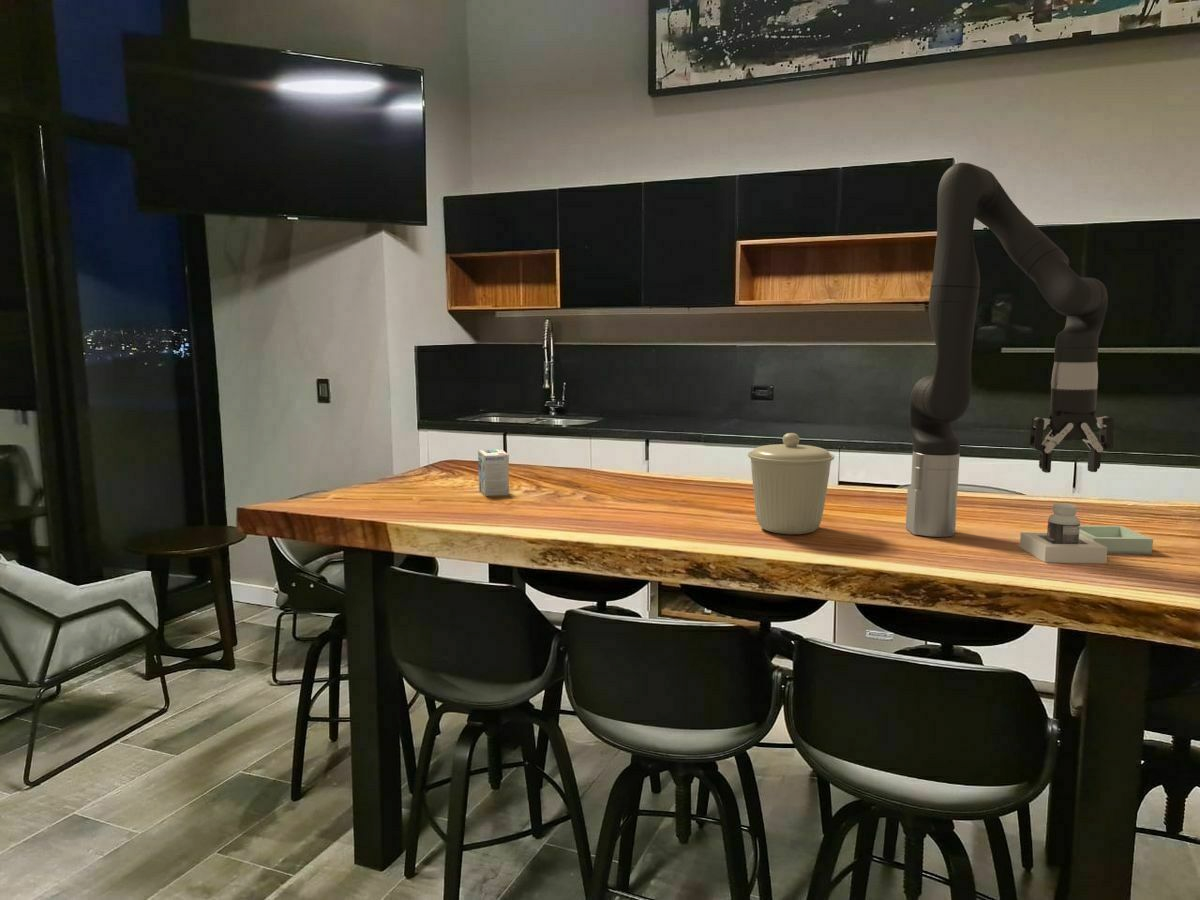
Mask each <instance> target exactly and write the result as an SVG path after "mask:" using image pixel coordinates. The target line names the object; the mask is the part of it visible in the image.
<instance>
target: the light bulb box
mask: <svg viewBox="0 0 1200 900" xmlns="http://www.w3.org/2000/svg"><path fill="white" fill-rule="evenodd" d="M477 454H478V455H477V457H478V459H477V460H478V461H477V462H478V489H479V491H480V492H481V493H482V494H483V495H484V496H485V497H487V496H488V497H489V496H491V497H492V496H506V495H507V496H509V495H510V467H509V466H510V464H509V463H510V459H509V458H510V455H509V453H507V452H506V451H505V450H503V449H501V448H499V449H482V450H481V449H479V450H478V451H477Z"/></svg>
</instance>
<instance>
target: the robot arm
mask: <svg viewBox="0 0 1200 900" xmlns="http://www.w3.org/2000/svg"><path fill="white" fill-rule="evenodd" d="M937 188H938V189H937V200H936V203H937V204H936V205H937V206H936V207H937V209H936V211H937V213H936V220H937V221H936V225H937V226H936V242H935V249H934V250H935V251H934V259H933V260H934V261H933V269H932V278H931V283H930V284H931V285H930V291H929V298H928V317H929V323H930V327H931V331H932V334H933V338H934V343H935V353H936V354H935V355H936V356H935V362H934V363H935V364H934V371H933V375H932V374H931V375H927V376H923V377H922V378H920V379H919V380H918V381H917V382H916V383H915V385H914V386H913V388H912V389H911V394H910V401H909V436H910V439H911V442H912V458H911V459H912V460H911V461H912V462H911V478H910V479H911V480H910V485H909V484H908V486H907V496H906V497H907V499H906V517H905V529H906V530H907V531H908V532H910V533H911V534H912V535H914V536H915V535H916V536H924V537H932V538H933V537H934V538H936V537H937V538H938V537H939V538H946V537H952V536H954V535H955V534H956V525H957V523H956V522H957V521H956V520H957V507H958V506H957V504H958V490H959V489H958V488H959V473H960V472H959V470H960V457H961V455H960V454H961V453H960V452H961V451H960V450H961V442H960V439H959V438H958V436H956V434H955V432H954V430H953V425H952V422H955V421H958V420H960V419H961V418H962V417H963V416H964V415H965V413H966V412H967V410H968V408H969V406H970V401H971V393H972V388H971V387H972V354H973V353H972V352H973V343H974V336H975V335H974V334H975V326H976V325H975V323H976V316H977V311H978V303H979V297H980V287H981V274H980V268H979V267H980V266H979V262H978V258H977V254H976V250H975V249H976V248H975V244H974V227H975V226H974V225H975V220H976V221H979V222H980V223H981V224H983V225H984V226H985V227H987V228H988V230H990V231H991V232H992V233H993V234H994V235H995V237H996V238H997V239H998V240H999V242H1000V243H1001V246H1002V247H1003V249H1004V251H1005V252H1006V253H1007V255H1008V256H1009V258H1010V259H1011V260H1012V261H1013V262H1014V263H1015V264H1016V266H1018V268H1020V270H1022V272H1023V273H1025V274H1026V276H1027V277H1029V279H1030V280H1032V281H1033V282H1034V284H1036V286H1037V290H1039V292H1040V294H1041V295H1042V297H1043V298H1044V300H1045V301H1046V302H1047V303H1048V305H1049V306H1050V307H1051V308H1052V309H1053V310H1054V311H1056V312H1057V313H1059V315H1062V316H1065V317H1066V318H1065V319H1066V321H1065V325H1064V328H1063V329H1062V331H1060V332H1058V333H1057V335H1056V338H1055V343H1054V357H1053V368H1052V372H1051V373H1052V374H1051V381H1050V386H1051V387H1050V405H1049V406H1050V407H1049V409H1050V411H1049V412H1050V415H1049V417H1048V418H1043V417H1042V418H1041V417H1037V416H1034V417H1032V419H1031V425H1030V434H1029V444H1028V446H1029V448H1031V449H1033V450H1036V451H1038V452H1039V453H1038V454H1039V459H1038V460H1039V461H1038V467H1039V469H1041V471H1042V472H1043V473H1045V474H1046V473H1048V474H1049V473H1051V472H1052V471H1051V469H1052V457H1053V456H1052V453H1051V452H1052V451H1053V450H1054V449H1055V447H1056V446H1057V445H1059V444H1060V443H1061V442H1062V441H1066V442H1069V441H1073V440H1075V441H1083V442H1084V443H1085V444H1086V446H1087V447H1088V448H1089V451H1088V453H1087V471H1088V472H1091V473H1097V472H1098V470H1099V469H1100V467H1101V459H1102V452H1104V451H1105V450H1110V449H1113V447H1114V419H1113V417H1110V416H1107V415H1101V416H1099V417H1096V410H1097V398H1098V383H1099V370H1098V358H1099V356H1098V355H1099V337H1100V334H1101V330H1102V328H1103V325H1104V320H1105V317H1106V314H1107V310H1108V302H1109V301H1108V300H1109V299H1108V298H1109V296H1108V291H1107V288H1106V285H1105V284H1104V283H1103V282H1102V281H1101V280H1100V279H1097V278H1095V277H1081V276H1079V275H1078V274H1077V273H1076V272H1075V271H1074V270H1073V269H1072V268H1071V267H1070V266H1069V265H1070V260H1069V259H1070V258H1069V257H1068V255H1067V254H1066V253H1065V252H1064V250H1062V249H1061V248H1060V247H1059V246H1058V245H1057V244H1056V243H1054V241H1052V240H1051V238H1050V237H1048V235H1046V234H1045V233H1044V232H1043V231H1042V230H1041V229H1040V228H1038V227H1037V226H1036V225H1035V224H1034V223H1033V222H1032V221H1031V220H1030V219H1028V217H1027V216H1026V215H1024V213H1023V212H1022V211H1021V210H1020V209H1019V208H1018V207H1017V205H1016V204H1015V203H1014V201H1013V200H1012V199H1011V198H1010V196H1009V195H1008V193H1007V192H1006V191H1005V189H1004V188H1003V186H1002V184H1001V183H1000V181H999V180H998V179H997V178H996V176H995V175H994V174H993V172H991V171H990V170H988V169H986V168H985V167H984V168H983V167H981V166H978V165H976V164H972V163H969V162H958V163H955V164H953V165H951V166H950V167H949V168H947V170H945V171H944V173H943V175H942V176H941V179H940V181H939V184H938V187H937ZM1096 425H1097V428H1099V440H1098V437H1097V436H1096V435H1095V433H1094V432H1093V431H1092V430H1093V429H1094V427H1096ZM1047 426H1048V427H1049V428H1050V429H1051V430H1050V431H1049V432H1048V434H1046V436H1045V438H1044V440H1043V437H1044V430H1046V429H1047Z"/></svg>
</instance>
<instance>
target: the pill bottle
mask: <svg viewBox="0 0 1200 900" xmlns="http://www.w3.org/2000/svg"><path fill="white" fill-rule="evenodd" d="M1077 510H1078V506H1077V505H1075V504H1071V503H1065V502H1064V503H1063V502H1061V503H1060V502H1057V503H1053V505H1052V513H1053V514H1051V515H1049V516H1048V518H1047V527H1046V528H1047V530H1046V533H1047V541H1048V542H1050V543H1052V544H1078V542H1079V530H1080V525H1081V520H1080V518H1079V517H1078V516H1076V515H1077V512H1078V511H1077Z"/></svg>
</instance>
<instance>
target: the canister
mask: <svg viewBox="0 0 1200 900" xmlns="http://www.w3.org/2000/svg"><path fill="white" fill-rule="evenodd" d="M799 443H800V436H799V435H798V434H797V433H794V432H788V433H785V434H784V435H783V436H782V443H781V444H780V443H779V444H765V445H760V446H757V447H755V448H754V449H753V450H751V451H749V452H747V457H748V458H749V459H750V464H751V465H750V466H751V467H750V468H751V478H752V479H751V480H752V490H753V499H754V500H753V501H754V511H755V517H756V522H757V524H758V525H759V526H760V528H761V529H763V530H764V531H767V532H770V533H774V534H783V535H803V534H805V535H806V534H810V533H812V532H815V531H816V530H818V528H819V527H820V525H821V524H822V523H821V522H822V521H823V515H824V514H823V513H824V510H825V504H826V498H827V491H828V484H829V479H830V478H829V477H830V471H831V465H832V464H831V463H832V461H833V460H835V455H834V454H832V453H830V452H829V450H827V449H825V448H822V447H819V446H814V445H807V444H799Z"/></svg>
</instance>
